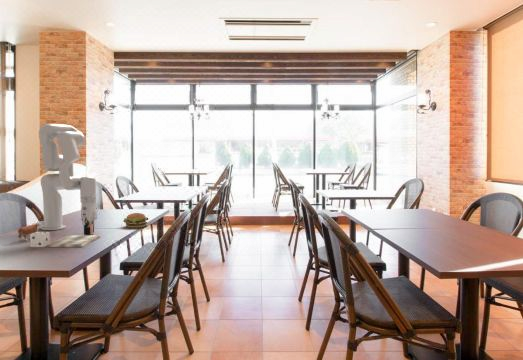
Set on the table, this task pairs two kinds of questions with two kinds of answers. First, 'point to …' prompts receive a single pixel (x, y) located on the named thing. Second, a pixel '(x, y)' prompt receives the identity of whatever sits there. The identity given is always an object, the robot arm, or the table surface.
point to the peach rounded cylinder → (91, 228)
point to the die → (39, 239)
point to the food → (135, 220)
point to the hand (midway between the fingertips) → (89, 233)
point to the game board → (74, 241)
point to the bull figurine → (28, 230)
